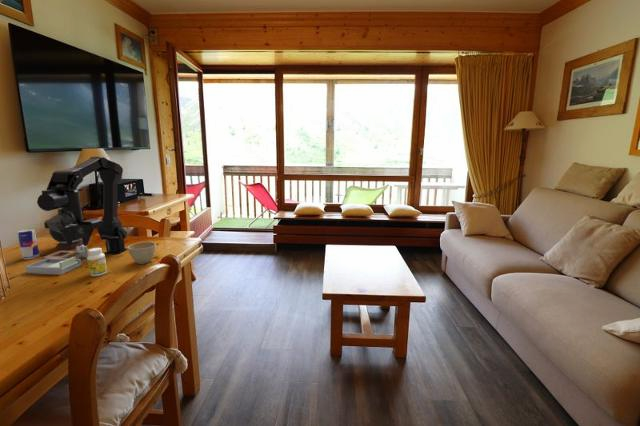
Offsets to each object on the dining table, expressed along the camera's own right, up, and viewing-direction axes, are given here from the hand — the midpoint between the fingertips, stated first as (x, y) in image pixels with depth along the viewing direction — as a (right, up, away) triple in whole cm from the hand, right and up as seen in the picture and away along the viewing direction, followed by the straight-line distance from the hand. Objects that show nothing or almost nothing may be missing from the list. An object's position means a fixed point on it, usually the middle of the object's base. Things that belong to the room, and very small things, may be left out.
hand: (77, 245), depth 116 cm
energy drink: (-31, -7, +15) cm, 36 cm away
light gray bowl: (+18, -8, +11) cm, 23 cm away
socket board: (-17, -7, +13) cm, 22 cm away
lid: (-8, -8, +3) cm, 12 cm away
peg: (-9, -7, +15) cm, 19 cm away
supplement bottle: (+8, -11, 0) cm, 13 cm away
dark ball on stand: (-26, -4, +29) cm, 39 cm away
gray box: (-11, -9, +3) cm, 15 cm away
